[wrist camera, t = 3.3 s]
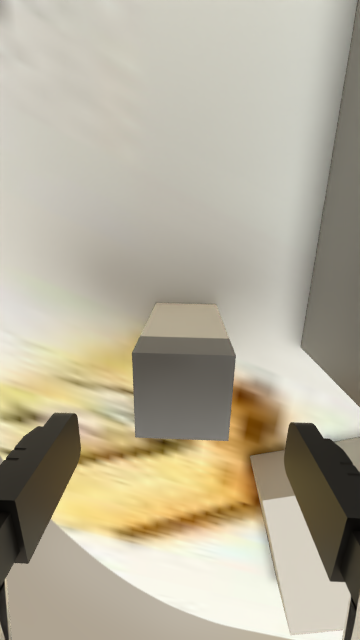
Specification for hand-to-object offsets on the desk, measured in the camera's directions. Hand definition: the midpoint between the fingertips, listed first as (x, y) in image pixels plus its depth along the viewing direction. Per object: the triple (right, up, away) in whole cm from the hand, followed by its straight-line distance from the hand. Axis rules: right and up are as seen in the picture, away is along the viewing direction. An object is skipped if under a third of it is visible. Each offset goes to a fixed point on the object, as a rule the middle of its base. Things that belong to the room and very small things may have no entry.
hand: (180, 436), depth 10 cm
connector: (0, +4, +11) cm, 11 cm away
